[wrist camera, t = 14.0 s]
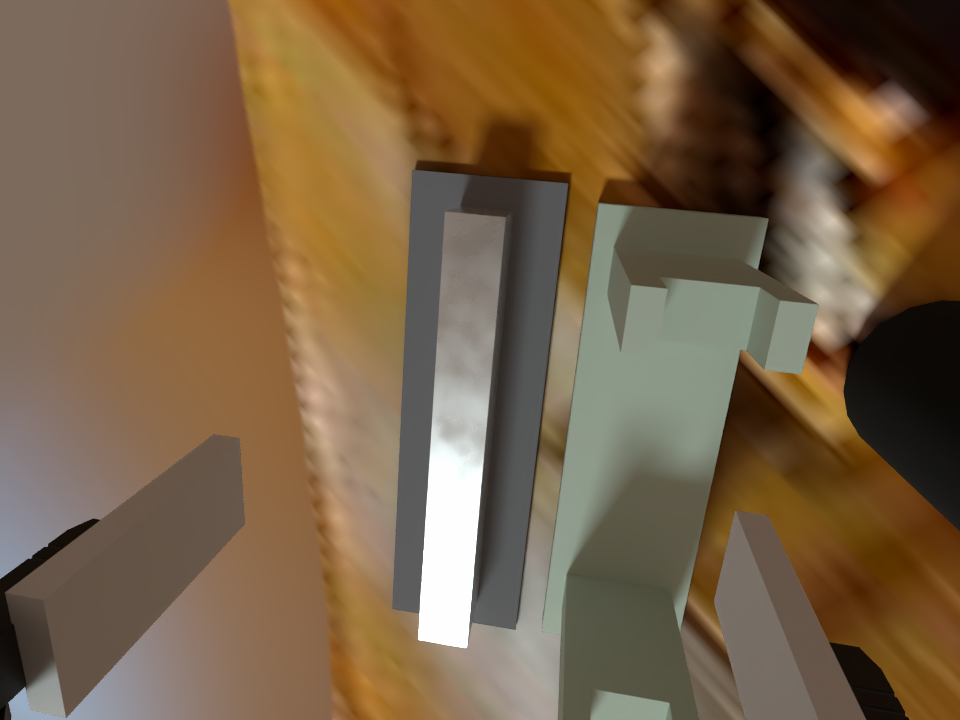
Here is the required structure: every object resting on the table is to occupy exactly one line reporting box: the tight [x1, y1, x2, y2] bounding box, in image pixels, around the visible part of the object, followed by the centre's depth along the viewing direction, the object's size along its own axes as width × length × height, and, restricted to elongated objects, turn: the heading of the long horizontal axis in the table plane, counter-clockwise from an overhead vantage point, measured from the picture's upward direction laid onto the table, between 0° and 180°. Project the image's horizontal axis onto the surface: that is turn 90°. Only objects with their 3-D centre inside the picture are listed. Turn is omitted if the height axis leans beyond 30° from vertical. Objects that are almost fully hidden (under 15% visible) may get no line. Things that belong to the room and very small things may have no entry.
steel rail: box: [418, 206, 514, 648], centre depth 43 cm, size 30×4×5 cm, turn 175°
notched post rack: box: [542, 202, 819, 720], centre depth 37 cm, size 32×10×15 cm, turn 175°
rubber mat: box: [392, 170, 568, 630], centre depth 45 cm, size 34×10×1 cm, turn 175°
